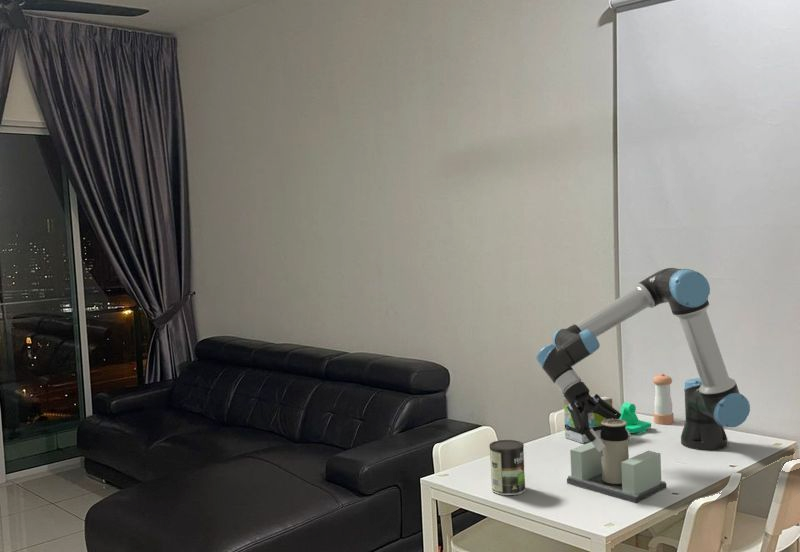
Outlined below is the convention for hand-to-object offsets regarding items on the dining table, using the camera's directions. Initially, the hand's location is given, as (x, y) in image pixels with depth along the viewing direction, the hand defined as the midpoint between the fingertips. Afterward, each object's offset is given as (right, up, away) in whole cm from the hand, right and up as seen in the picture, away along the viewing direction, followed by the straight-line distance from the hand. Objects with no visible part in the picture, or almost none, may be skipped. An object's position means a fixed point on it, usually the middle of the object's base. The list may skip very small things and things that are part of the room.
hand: (615, 444), depth 220 cm
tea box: (+5, -10, +52) cm, 53 cm away
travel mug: (0, -12, +2) cm, 12 cm away
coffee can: (-32, -15, +3) cm, 35 cm away
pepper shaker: (+38, -7, +67) cm, 77 cm away
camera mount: (+24, -8, +58) cm, 63 cm away
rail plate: (0, -13, +2) cm, 13 cm away
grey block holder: (0, -11, +1) cm, 12 cm away
